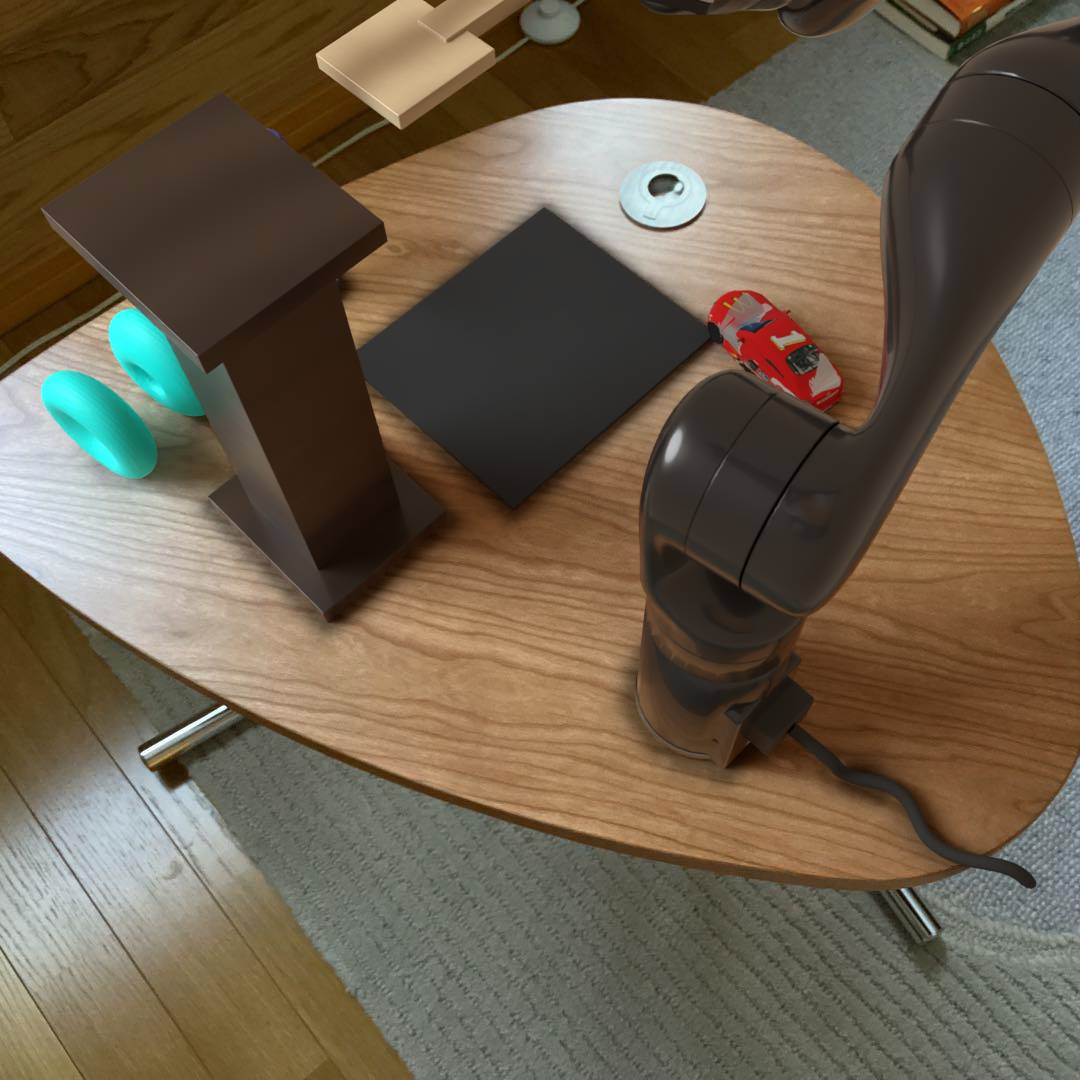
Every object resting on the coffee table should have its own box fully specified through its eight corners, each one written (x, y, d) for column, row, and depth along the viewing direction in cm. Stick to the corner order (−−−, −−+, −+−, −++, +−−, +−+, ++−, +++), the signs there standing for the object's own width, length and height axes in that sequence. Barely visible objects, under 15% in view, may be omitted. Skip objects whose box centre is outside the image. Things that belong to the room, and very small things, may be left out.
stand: (448, 520, 88) (383, 221, 60) (327, 623, 85) (197, 356, 56) (331, 413, 93) (220, 91, 65) (212, 506, 90) (39, 207, 61)
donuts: (66, 443, 93) (11, 369, 84) (154, 359, 97) (110, 279, 88) (154, 505, 90) (107, 435, 81) (242, 416, 94) (206, 339, 85)
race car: (692, 322, 96) (699, 289, 92) (744, 294, 97) (753, 261, 94) (795, 434, 91) (806, 405, 87) (848, 403, 92) (861, 373, 89)
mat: (715, 336, 96) (715, 332, 95) (513, 511, 89) (513, 508, 88) (544, 210, 103) (544, 206, 102) (345, 363, 96) (344, 359, 95)
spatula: (651, -46, 68) (652, -65, 67) (401, 130, 62) (398, 113, 61) (566, -97, 70) (566, -116, 69) (318, 68, 65) (314, 50, 64)
